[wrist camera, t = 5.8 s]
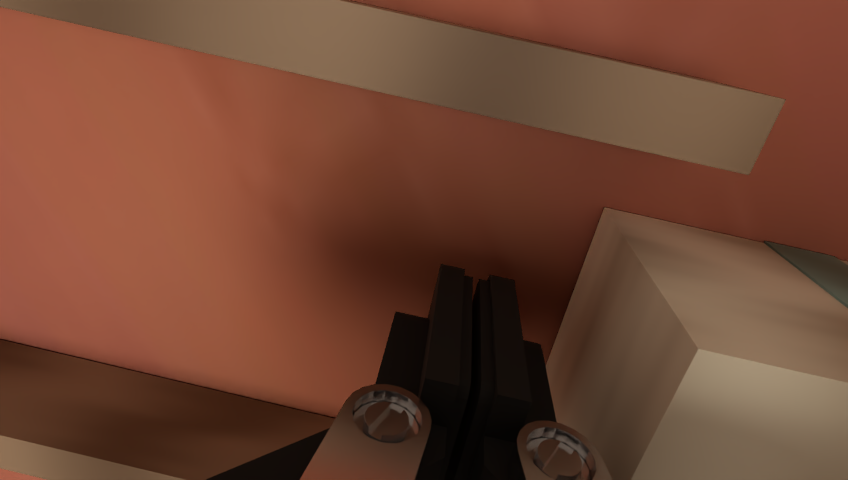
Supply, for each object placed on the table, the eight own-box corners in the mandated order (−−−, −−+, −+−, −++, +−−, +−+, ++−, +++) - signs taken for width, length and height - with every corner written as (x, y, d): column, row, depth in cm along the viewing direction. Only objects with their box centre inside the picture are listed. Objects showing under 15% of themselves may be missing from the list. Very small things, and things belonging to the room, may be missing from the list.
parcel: (997, 292, 11) (1419, 512, 6) (851, 481, 14) (1067, 749, 9) (604, 205, 12) (702, 349, 6) (530, 407, 14) (557, 628, 9)
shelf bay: (704, 79, 10) (785, 99, 8) (531, 495, 15) (542, 598, 13) (-284, -141, 11) (-550, -198, 8) (-136, 337, 16) (-266, 403, 13)
